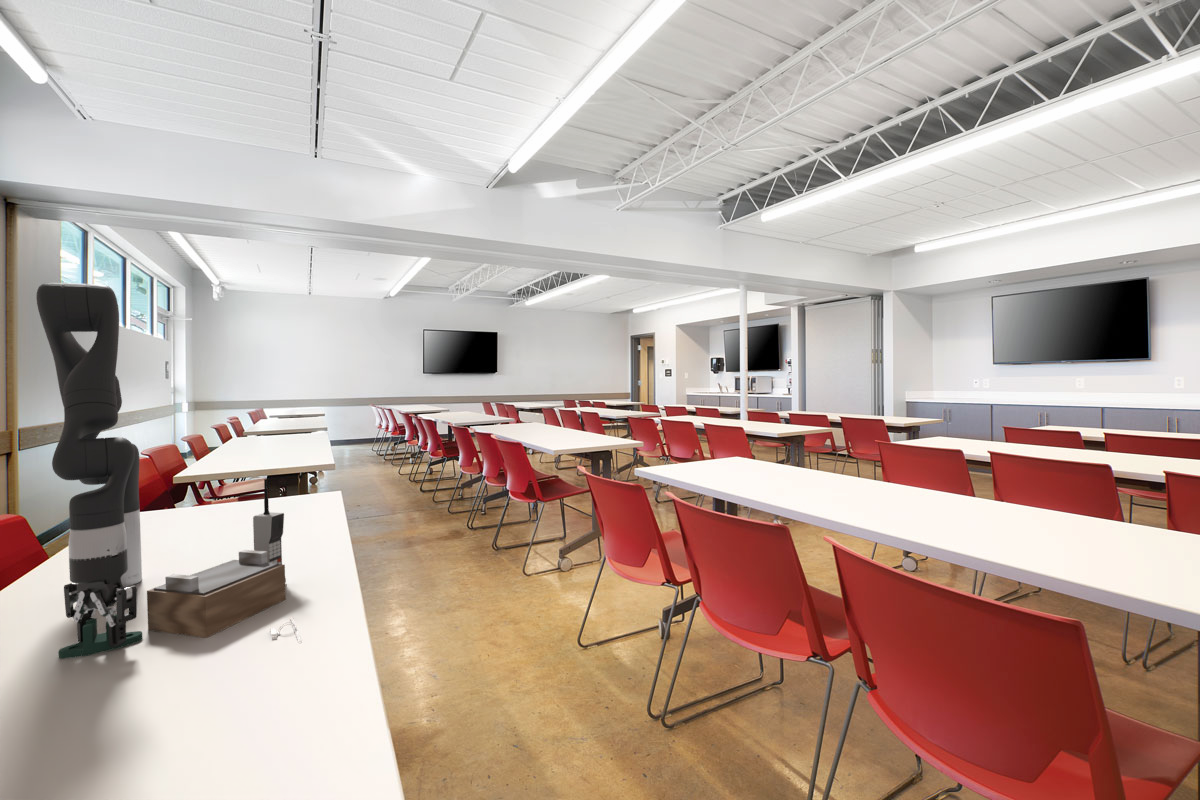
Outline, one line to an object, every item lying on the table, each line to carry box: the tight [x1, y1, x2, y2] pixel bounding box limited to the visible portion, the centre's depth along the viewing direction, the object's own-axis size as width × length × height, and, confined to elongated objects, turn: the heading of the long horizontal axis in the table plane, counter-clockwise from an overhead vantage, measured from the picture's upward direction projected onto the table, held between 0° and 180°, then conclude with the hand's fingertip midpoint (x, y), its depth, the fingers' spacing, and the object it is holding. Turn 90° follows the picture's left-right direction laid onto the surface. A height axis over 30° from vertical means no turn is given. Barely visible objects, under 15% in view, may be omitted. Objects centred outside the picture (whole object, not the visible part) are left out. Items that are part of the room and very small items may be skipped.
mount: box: [58, 613, 143, 660], centre depth 95 cm, size 11×4×5 cm, turn 126°
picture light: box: [269, 617, 303, 645], centre depth 100 cm, size 14×4×2 cm, turn 36°
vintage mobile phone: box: [252, 478, 287, 584], centre depth 124 cm, size 4×5×25 cm
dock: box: [146, 549, 287, 638], centre depth 108 cm, size 14×18×10 cm
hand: (102, 642), depth 95 cm, fingers closed on mount, 7 cm apart
